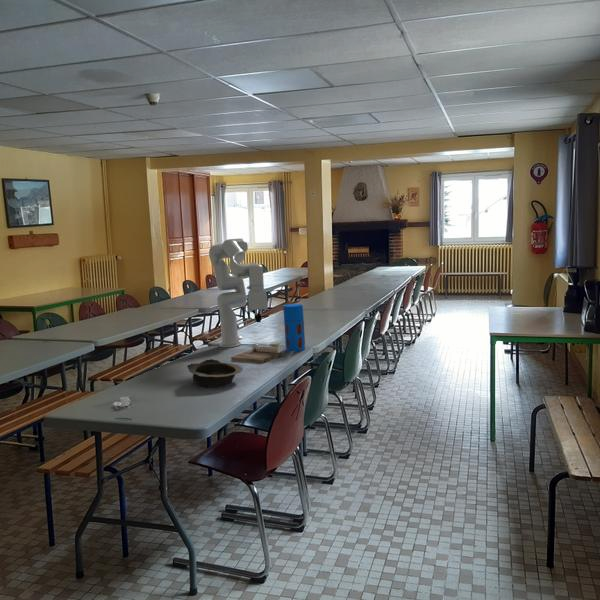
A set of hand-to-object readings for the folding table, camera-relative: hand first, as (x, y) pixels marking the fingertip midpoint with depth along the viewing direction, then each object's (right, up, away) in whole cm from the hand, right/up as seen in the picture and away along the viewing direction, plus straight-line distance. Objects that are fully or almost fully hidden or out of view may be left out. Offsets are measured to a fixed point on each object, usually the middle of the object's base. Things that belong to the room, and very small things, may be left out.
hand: (258, 321), depth 315 cm
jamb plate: (0, -19, -2) cm, 19 cm away
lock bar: (+4, -16, +2) cm, 17 cm away
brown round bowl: (-16, -26, -48) cm, 57 cm away
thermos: (+20, -16, +14) cm, 29 cm away
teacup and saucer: (-49, -32, -73) cm, 94 cm away
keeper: (+9, -16, +3) cm, 18 cm away
